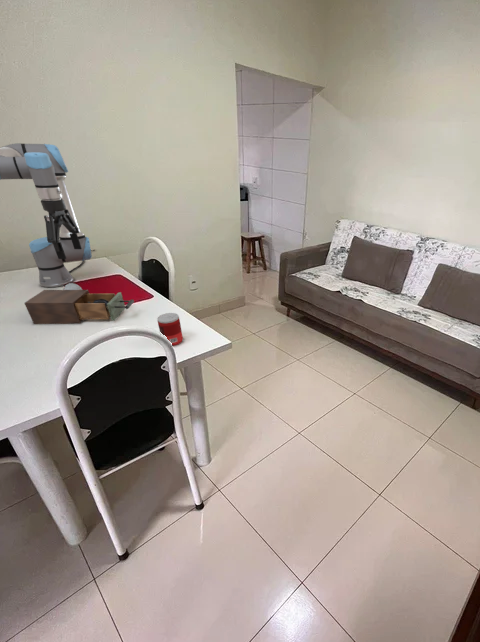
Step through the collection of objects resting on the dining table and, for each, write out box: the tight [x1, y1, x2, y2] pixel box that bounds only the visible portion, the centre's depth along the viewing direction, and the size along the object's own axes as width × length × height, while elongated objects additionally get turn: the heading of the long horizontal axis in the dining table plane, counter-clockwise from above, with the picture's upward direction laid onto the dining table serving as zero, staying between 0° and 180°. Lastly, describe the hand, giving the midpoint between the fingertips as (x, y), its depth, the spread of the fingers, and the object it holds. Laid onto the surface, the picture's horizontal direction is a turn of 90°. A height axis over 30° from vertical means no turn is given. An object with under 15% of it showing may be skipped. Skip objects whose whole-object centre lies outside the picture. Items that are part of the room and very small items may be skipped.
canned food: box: [156, 312, 184, 347], centre depth 127 cm, size 8×8×11 cm
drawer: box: [74, 291, 135, 322], centre depth 144 cm, size 24×13×8 cm, turn 95°
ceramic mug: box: [62, 282, 83, 290], centre depth 158 cm, size 11×8×8 cm
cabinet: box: [24, 289, 91, 325], centre depth 143 cm, size 19×14×10 cm
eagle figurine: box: [88, 299, 108, 310], centre depth 144 cm, size 8×7×9 cm
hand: (70, 253), depth 138 cm, fingers open, 13 cm apart
